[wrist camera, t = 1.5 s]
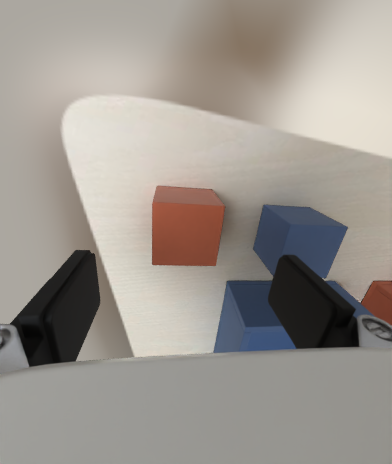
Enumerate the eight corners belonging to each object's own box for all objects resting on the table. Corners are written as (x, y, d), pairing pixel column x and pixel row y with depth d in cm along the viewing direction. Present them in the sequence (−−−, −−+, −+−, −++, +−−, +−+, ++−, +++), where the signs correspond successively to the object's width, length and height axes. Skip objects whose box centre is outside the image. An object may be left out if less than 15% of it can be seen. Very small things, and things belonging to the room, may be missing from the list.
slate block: (263, 204, 18) (290, 224, 14) (309, 207, 18) (349, 227, 14) (252, 249, 19) (273, 278, 15) (295, 250, 20) (326, 278, 16)
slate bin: (227, 280, 21) (245, 327, 16) (335, 280, 22) (383, 323, 17) (212, 359, 26) (222, 413, 21) (301, 354, 27) (330, 403, 22)
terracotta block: (156, 185, 16) (152, 202, 12) (212, 189, 16) (225, 206, 13) (156, 236, 18) (151, 265, 14) (206, 238, 18) (216, 266, 14)
